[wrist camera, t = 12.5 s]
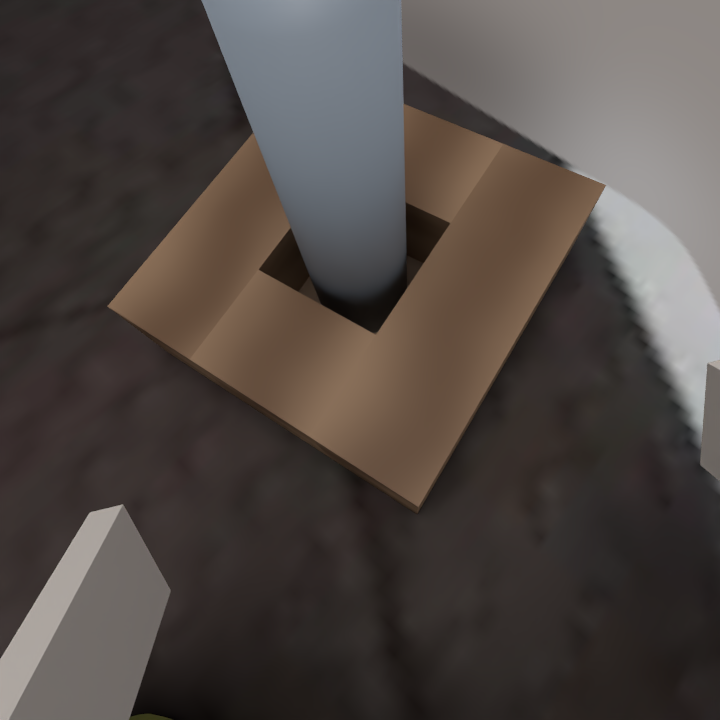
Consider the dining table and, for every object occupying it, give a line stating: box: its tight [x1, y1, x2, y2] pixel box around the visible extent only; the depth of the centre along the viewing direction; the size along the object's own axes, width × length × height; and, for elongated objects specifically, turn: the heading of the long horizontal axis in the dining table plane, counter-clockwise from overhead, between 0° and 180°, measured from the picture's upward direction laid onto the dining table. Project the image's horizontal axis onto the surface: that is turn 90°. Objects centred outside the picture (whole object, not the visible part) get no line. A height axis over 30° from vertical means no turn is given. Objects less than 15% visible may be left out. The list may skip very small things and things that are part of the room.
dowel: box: [202, 0, 407, 333], centre depth 16 cm, size 4×4×14 cm
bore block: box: [108, 104, 606, 514], centre depth 21 cm, size 14×14×5 cm
